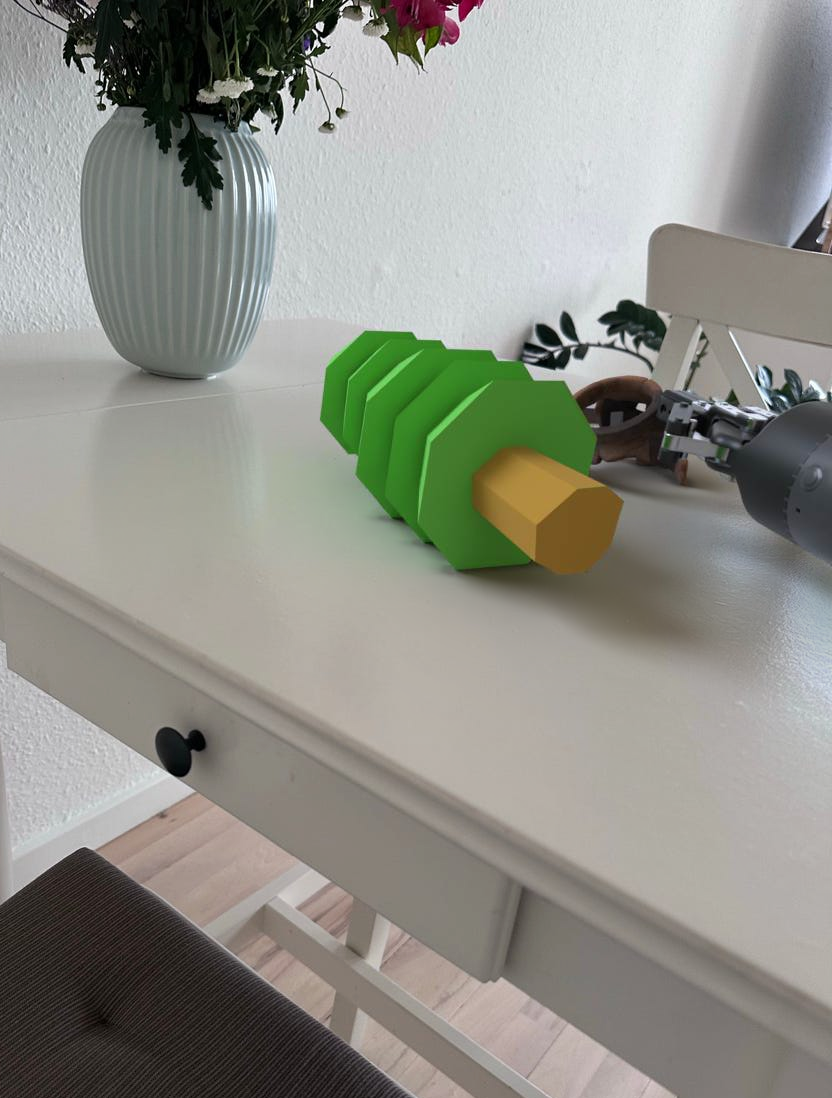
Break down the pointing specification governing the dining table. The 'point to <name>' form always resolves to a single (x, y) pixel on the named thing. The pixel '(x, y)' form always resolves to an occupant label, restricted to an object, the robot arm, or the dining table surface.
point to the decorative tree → (471, 452)
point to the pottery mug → (628, 422)
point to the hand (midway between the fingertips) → (669, 404)
